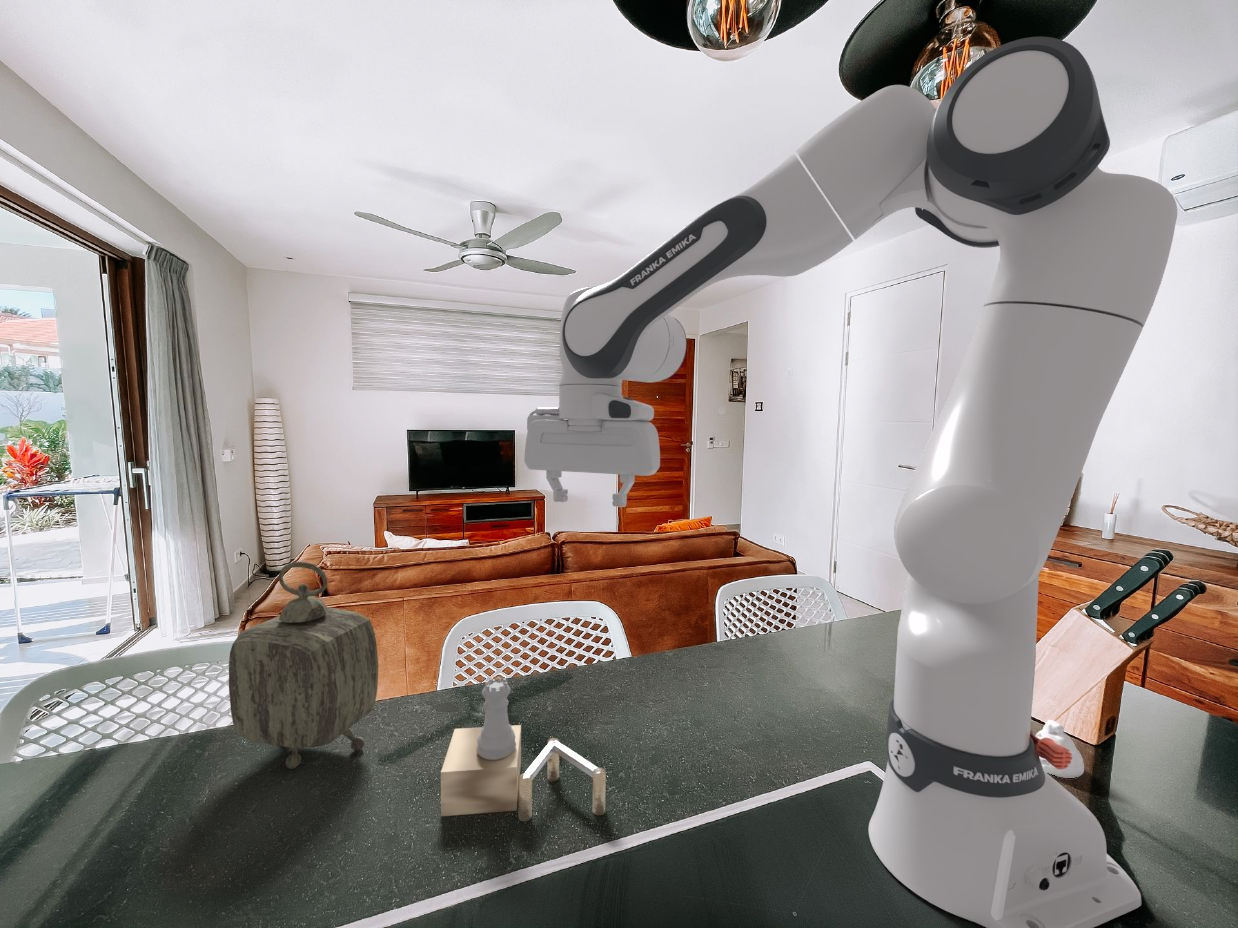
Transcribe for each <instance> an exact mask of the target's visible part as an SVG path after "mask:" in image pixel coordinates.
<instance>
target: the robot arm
mask: <svg viewBox="0 0 1238 928" xmlns="http://www.w3.org/2000/svg"><path fill="white" fill-rule="evenodd" d="M1100 100H1101V99H1100V96H1099V90H1098V87H1097V83H1096V80H1095V76H1094V73H1093V72H1092V69H1091V67H1090V65H1089V63H1088V61H1087V59H1086V58H1085V57H1084V55H1083V54H1082V53H1081V52H1080V51H1079V49H1077V48H1076V47H1075V46H1074V45H1072V44H1071V43H1069V42H1067V41H1064V40H1062V39H1059V38H1055V37H1049V36H1031V37H1030V36H1029V37H1024V38H1019V39H1016V40H1012V41H1009V42H1007V43H1003V44H1001V45H999V46H998V47H995V48H992V49H991V50H989V51H987V52H986V53H985V54H983V55H982V56H980V57H978V59H976V60H974V62H972V63H971V64H970V65H968V66H967V67H966V68H965V69H964V70H963V71H962V72H961V73H960V74H959V75H957V77H956V78H955V80H954V81H953V82H952V84H951V85H950V86H949V87H948V88H947V90H946V92H945V93H944V95H943V96H942V98H941V100H940V101H939V103H938V105H937V107H935V106H934V104H933V103H932V101H931V100H930V99H929V98H928V97H927V96H926V95H925V94H923V93H922V92H920V91H919V90H917V89H915V88H913V87H910V86H908V85H904V84H893V85H888V86H885V87H883V88H881V89H879V90H877V91H875V92H874V93H872V94H870V95H869V96H867V97H866V98H864V99H862V100H861V101H859V102H858V103H856V104H854V105H853V106H851V108H849V109H847V110H846V111H844V112H843V113H842V114H840V115H838V116H837V117H836V118H835V119H833V120H831V122H829V123H828V124H826V126H824V127H823V128H821V129H820V130H819V131H818V132H817V133H815V134H814V135H813V136H811V137H810V138H809V139H808V140H807V141H805V142H804V143H803V144H802V145H800V147H799V148H797V149H796V150H795V152H796V153H795V152H793V153H792V154H791V155H790V156H789V157H787V158H786V159H785V160H783V161H782V162H781V163H780V164H778V166H776V168H774V169H773V170H772V171H770V172H769V173H768V174H766V175H765V176H764V177H762V178H761V179H759V180H758V181H757V182H756V183H754V184H753V185H751V186H750V187H748V188H746V189H745V190H744V191H742V192H740V193H738V194H736V195H734V196H733V197H730V198H727V199H725V200H724V201H722V202H720V203H718V204H716V205H715V206H713V207H712V208H710V209H708V210H706V211H705V212H704V213H702V214H701V215H699V216H698V217H696V218H695V219H694V220H692V221H691V222H690V223H688V224H687V225H685V226H684V227H683V228H682V229H680V230H679V231H677V232H676V233H675V234H674V235H672V236H671V237H670V238H669V239H667V240H665V242H663V243H662V244H661V245H659V246H658V247H656V248H655V249H654V250H653V251H652V252H650V253H649V254H648V255H646V256H645V257H644V258H642V259H641V260H639V262H637V263H636V264H635V265H634V266H632V267H631V268H629V269H628V270H627V271H625V272H624V273H623V274H620V276H618V277H616V278H615V279H612V280H610V281H609V282H607V283H604V284H601V285H598V286H585V287H581V288H580V289H577V290H575V291H573V292H571V293H570V294H568V296H567V298H566V299H565V302H564V304H563V308H562V313H561V316H560V317H561V318H560V327H559V328H560V329H559V349H558V351H559V357H560V358H559V359H560V362H561V369H562V370H561V377H560V379H559V384H558V386H559V391H558V392H559V393H558V396H559V397H558V399H559V400H558V401H559V402H558V405H559V406H558V407H537V408H535V410H533V411H532V412H531V413H530V414H529V415H528V416H527V419H526V430H527V433H526V439H525V448H524V457H523V458H524V465H525V466H526V467H527V469H528V470H531V471H545V472H546V477H545V478H546V480H547V482H548V484H549V486H550V488H551V489H552V492H553V494H552V495H553V499H552V500H553V502H555V503H566V502H568V499H569V498H568V497H569V495H568V494H569V493H568V491H569V490H568V489H567V488H566V489H565V488H563V485H562V483H561V480H560V478H562V475H563V473H562V472H568V473H569V472H571V473H584V474H585V473H587V474H588V473H589V474H602V475H603V474H605V475H619V482H620V483H622V486H621V488H620V489H619V492H615V493H612V502H611V503H612V506H613V507H615V508H624V507H627V501H628V495H627V494H629V492H630V491H631V488H632V487H633V485H634V483H635V478H636V476H640V477H641V476H642V477H644V476H646V477H647V476H653V475H655V474H656V473H657V471H658V470H659V469H660V467H661V451H660V450H661V449H660V439H659V433H658V429H657V427H655V425H654V424H653V423H652V422H650V421H652V420H653V419H654V417H655V409H654V407H653V406H652V405H650V404H646V403H643V402H640V401H638V400H634V398H631V397H626V396H623V395H622V384H623V381H631V382H641V383H657V382H660V381H661V382H662V381H665V380H668V379H670V378H671V377H672V376H674V375H675V374H676V373H677V372H678V371H679V369H680V368H681V366H682V365H683V363H684V360H685V358H686V355H687V347H688V344H687V343H688V342H687V335H686V331H685V329H684V327H683V325H682V324H681V322H680V321H679V320H678V319H676V318H675V317H674V316H673V315H670V314H671V312H673V311H674V310H676V309H678V308H679V307H680V306H682V305H683V304H684V303H686V302H687V301H688V300H690V299H691V298H693V297H694V296H695V295H697V294H698V293H700V292H701V291H703V290H704V289H706V288H708V287H710V286H711V285H713V284H716V283H718V282H720V281H723V280H727V279H731V278H737V277H744V276H745V277H746V276H770V277H771V276H772V277H781V278H782V277H795V276H798V275H801V274H803V273H805V272H807V271H809V270H811V269H813V268H815V267H817V266H819V265H821V264H822V263H824V262H826V261H828V260H829V259H831V258H832V257H834V256H836V255H837V254H838V253H839V252H841V251H843V250H844V249H845V248H846V247H848V246H849V245H851V244H852V243H853V242H854V240H858V238H860V237H861V236H862V235H864V234H866V232H867V231H869V230H870V229H872V228H873V227H874V226H876V225H878V223H880V222H881V221H883V220H884V219H886V218H887V217H888V216H889V217H890V216H891V215H892V214H894V213H896V212H898V211H901V210H905V209H908V208H909V209H910V208H914V211H915V212H914V213H915V215H916V217H918V218H919V219H921V220H923V221H924V222H926V223H927V224H929V225H930V226H931V227H934V228H936V229H937V230H938V231H940V232H942V233H943V234H944V235H945V236H947V237H949V238H950V239H952V240H953V241H956V242H958V243H960V244H962V245H965V246H967V247H972V248H980V249H982V248H983V249H985V248H986V249H988V248H989V249H990V248H996V247H999V251H1000V252H999V262H998V265H997V269H996V273H995V276H994V279H993V281H992V284H991V286H990V289H989V292H988V294H987V297H986V299H985V301H984V304H983V307H982V309H981V311H980V315H979V317H978V320H977V322H976V325H975V328H974V330H973V333H972V335H971V338H970V340H969V342H968V345H967V348H966V350H965V353H964V356H963V358H962V361H961V364H960V366H959V369H958V371H957V374H956V376H955V379H954V382H953V384H952V387H951V389H950V391H949V394H948V396H947V399H946V401H945V402H944V405H943V407H942V409H941V412H940V414H939V416H938V417H937V420H936V422H935V424H934V426H933V429H932V431H931V433H930V436H929V438H928V440H927V442H926V444H925V447H924V448H923V451H922V453H921V456H920V458H919V459H918V462H917V465H916V467H915V468H914V472H913V474H912V476H911V479H910V481H909V483H908V485H907V488H906V490H905V493H904V495H903V496H902V497H903V498H902V500H901V502H900V504H899V507H898V510H897V512H896V515H895V519H894V525H893V537H894V543H895V548H896V552H897V554H898V557H899V559H900V562H901V563H902V565H903V567H904V569H905V570H906V577H905V585H904V592H903V596H902V597H903V599H902V604H901V605H902V606H901V611H900V618H899V622H898V625H897V626H898V627H897V640H896V657H895V672H894V673H895V674H894V675H895V676H894V693H893V698H892V699H891V700H890V701H889V705H888V712H887V725H886V747H887V748H886V751H887V764H886V767H885V768H886V769H885V774H884V778H883V780H882V781H883V782H882V787H881V789H880V793H879V795H878V796H879V797H878V799H877V803H876V805H875V809H874V811H873V813H872V815H871V816H870V817H871V818H870V820H869V823H868V837H869V841H870V844H871V846H872V849H873V850H874V852H875V853H876V856H878V858H879V860H880V862H881V863H882V865H884V866H885V867H886V868H887V870H888V871H889V872H890V873H891V874H892V875H893V876H894V877H895V878H896V879H897V880H898V881H899V882H901V883H902V884H903V885H904V886H905V887H907V888H908V889H910V890H911V892H913V893H914V894H916V895H917V896H919V897H920V898H922V899H923V900H926V901H927V902H928V903H930V904H932V905H934V906H936V907H938V908H940V909H942V910H943V911H946V912H947V913H950V914H952V915H955V916H957V917H959V918H963V919H965V920H968V921H970V922H972V923H973V922H974V923H976V924H978V925H980V926H982V927H985V928H1095V927H1098V926H1101V925H1102V924H1105V923H1108V922H1109V921H1111V920H1114V919H1115V918H1118V917H1120V916H1122V915H1126V914H1127V913H1130V912H1132V911H1134V910H1136V909H1138V908H1139V907H1141V906H1142V894H1141V892H1140V890H1139V889H1138V887H1137V885H1136V883H1134V881H1133V880H1132V878H1131V877H1130V876H1129V875H1128V874H1127V871H1125V869H1123V868H1122V867H1121V866H1120V864H1118V863H1117V861H1115V860H1114V858H1112V857H1111V856H1110V855H1109V854H1108V853H1107V840H1106V836H1105V832H1104V830H1103V828H1102V825H1101V824H1100V822H1099V820H1098V819H1097V817H1096V816H1095V815H1094V813H1092V811H1090V809H1088V808H1087V806H1086V805H1085V804H1083V803H1082V802H1081V801H1080V799H1078V798H1077V797H1076V796H1075V795H1074V794H1072V793H1071V792H1070V791H1068V789H1066V788H1065V787H1064V786H1063V785H1061V783H1059V782H1058V781H1057V780H1056V779H1055V778H1053V776H1052V775H1049V774H1047V773H1046V772H1045V771H1044V770H1043V767H1042V764H1041V761H1040V758H1039V756H1040V757H1041V758H1044V759H1046V760H1047V761H1048V762H1049V763H1050V764H1051V765H1053V766H1054V767H1055V768H1057V769H1065V768H1067V767H1068V764H1071V761H1070V760H1072V757H1071V756H1072V754H1071V753H1070V752H1069V750H1068V749H1066V748H1065V747H1063V746H1061V745H1058V744H1056V743H1055V742H1054V741H1053V740H1052V739H1050V738H1042V739H1039V738H1037V737H1036V735H1034V734H1033V733H1034V732H1033V731H1032V730H1031V726H1032V725H1031V723H1032V712H1033V711H1032V710H1033V700H1034V699H1033V696H1034V684H1035V676H1036V673H1035V672H1036V664H1037V663H1036V662H1037V661H1036V660H1037V659H1036V658H1037V628H1038V627H1037V624H1038V607H1039V606H1038V602H1039V597H1038V596H1039V584H1040V583H1039V581H1040V573H1041V571H1042V569H1043V568H1044V566H1045V564H1046V562H1047V559H1048V557H1049V555H1050V552H1051V550H1052V548H1053V545H1054V543H1055V540H1056V538H1057V535H1058V533H1059V531H1060V528H1061V525H1062V523H1063V521H1064V520H1065V519H1064V518H1065V516H1066V513H1067V511H1068V509H1069V505H1070V503H1071V501H1072V498H1073V496H1074V493H1075V490H1076V488H1077V485H1078V484H1079V483H1078V482H1079V481H1080V477H1081V474H1082V473H1083V470H1084V467H1085V464H1086V462H1087V459H1088V455H1089V453H1090V450H1091V448H1092V445H1093V442H1094V439H1095V436H1096V433H1097V431H1098V428H1099V426H1100V424H1101V421H1102V419H1103V416H1104V414H1105V412H1106V410H1107V408H1108V406H1109V403H1110V401H1111V399H1112V397H1113V395H1114V392H1115V391H1116V388H1117V386H1118V383H1119V382H1120V379H1121V377H1122V375H1123V373H1124V371H1125V368H1126V367H1127V364H1128V362H1129V360H1130V358H1131V356H1132V353H1133V351H1134V348H1135V346H1136V344H1137V341H1139V337H1140V335H1141V333H1142V331H1143V328H1144V327H1145V325H1146V322H1147V320H1148V317H1149V315H1150V313H1151V311H1152V308H1153V306H1154V303H1155V300H1156V297H1157V295H1158V293H1159V290H1160V287H1161V284H1162V282H1163V281H1162V280H1163V277H1164V274H1165V271H1166V267H1167V264H1168V260H1169V257H1170V252H1171V248H1172V244H1173V240H1174V235H1175V229H1176V224H1177V219H1178V205H1177V201H1176V199H1175V197H1174V195H1173V194H1172V193H1171V191H1169V190H1168V188H1167V187H1165V186H1164V185H1162V184H1160V183H1159V182H1156V181H1155V180H1151V179H1150V178H1147V177H1143V176H1140V175H1134V174H1128V173H1127V174H1126V173H1113V172H1112V173H1111V172H1105V171H1103V170H1101V169H1100V168H1099V165H1100V164H1101V162H1102V161H1103V160H1104V157H1106V155H1107V154H1108V152H1109V149H1110V147H1111V139H1110V136H1109V133H1108V128H1107V126H1106V121H1105V118H1104V114H1103V111H1102V105H1101V101H1100ZM796 154H797V155H798V157H799V158H798V157H797V155H796ZM799 159H800V160H799ZM803 165H804V166H805V167H804V166H803ZM807 171H808V172H809V173H808V172H807ZM812 178H813V179H812ZM818 187H819V188H820V189H819V188H818ZM820 190H821V191H820ZM825 197H826V198H825ZM829 203H830V204H829ZM831 206H832V207H831ZM832 208H833V209H832ZM835 212H836V213H835ZM837 215H838V216H837ZM839 218H840V219H839ZM841 221H842V222H841ZM843 224H844V225H845V226H844V225H843ZM846 228H847V229H846ZM847 230H848V231H847ZM849 233H850V234H849ZM853 239H854V240H853Z"/></svg>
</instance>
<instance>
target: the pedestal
mask: <svg viewBox="0 0 1238 928" xmlns="http://www.w3.org/2000/svg"><path fill="white" fill-rule="evenodd" d="M482 727H483V726H482ZM482 727H481V726H480V727H465V728H464V727H462V728H454V730H453V734H452V737H451V740H450V742H449V744H448V745H449V746H448V749H447V752H446V754H445V758H444V762H443V765H442V768H441V770H440V809H441V810H440V812H441V813H440V815H441V817H450V816H461V815H462V816H463V815H475V814H477V815H478V814H487V813H488V814H489V813H490V814H491V813H501V812H514V811H517V809H518V801H519V776H520V775H521V766H522V725H521V724H518V725H516V724H515V725H511V727H512V729H513V730H514V733H515V742H516V746H515V749H514V750H513V752H512V753H511V754H510V755H509V756H508V757H506V758H504V759H501V760H497V761H489V760H486V759H483V758H482V757H481V756H480V755H479V754H478V753H477V749H476V748H477V745H478V744H477V739H478V736H479V734H480V732H481V729H482Z"/></svg>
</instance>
